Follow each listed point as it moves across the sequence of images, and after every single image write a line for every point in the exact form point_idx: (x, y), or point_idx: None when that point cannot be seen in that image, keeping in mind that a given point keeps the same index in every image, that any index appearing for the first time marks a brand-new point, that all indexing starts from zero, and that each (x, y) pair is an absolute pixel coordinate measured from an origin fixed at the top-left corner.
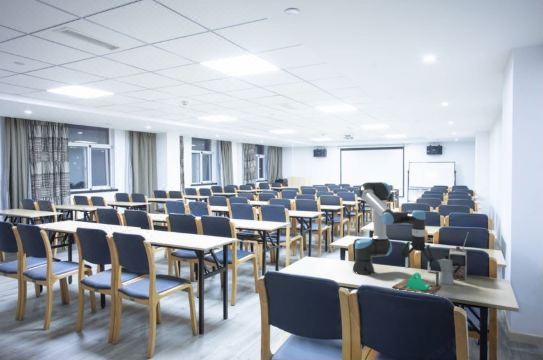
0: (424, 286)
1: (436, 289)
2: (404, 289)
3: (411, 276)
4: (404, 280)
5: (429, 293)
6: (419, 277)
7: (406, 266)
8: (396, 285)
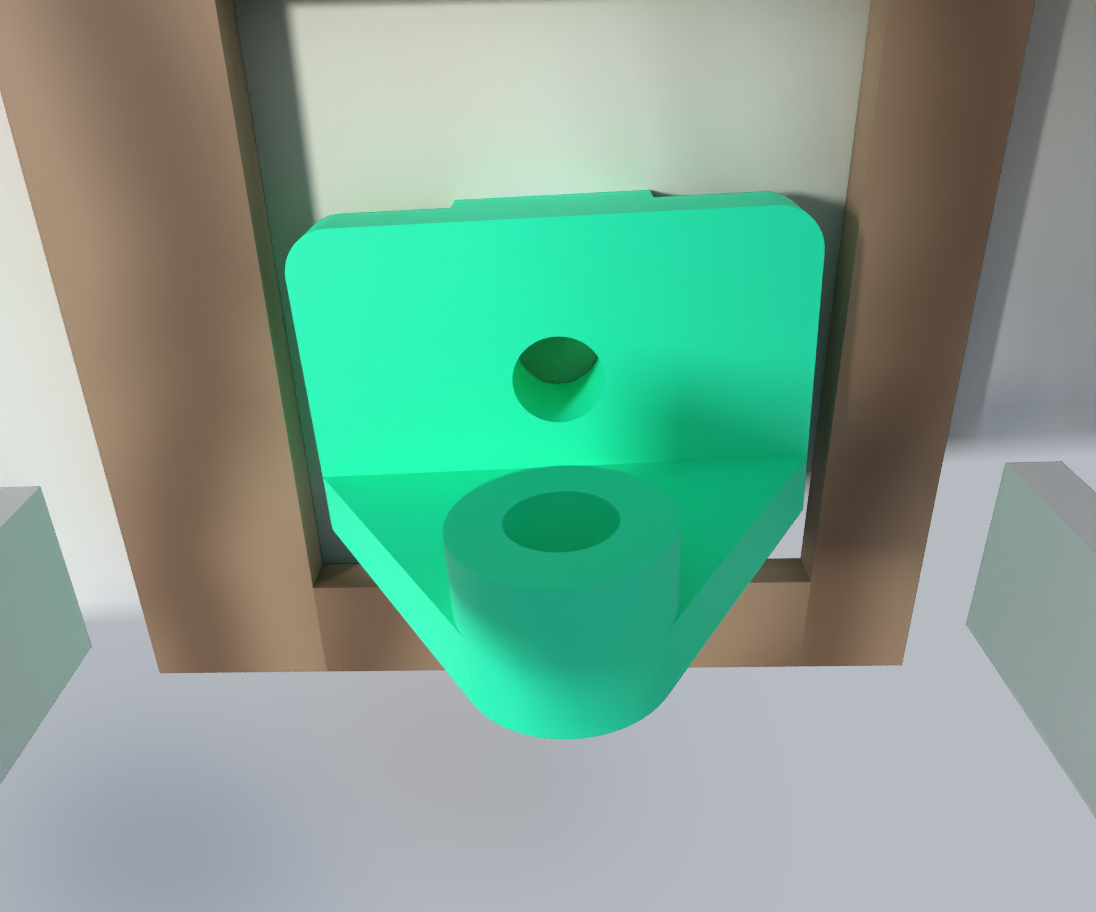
0: (781, 530)
1: (986, 205)
2: (417, 663)
3: (444, 668)
4: (16, 32)
5: (903, 617)
6: (685, 668)
7: (58, 695)
8: (173, 572)
